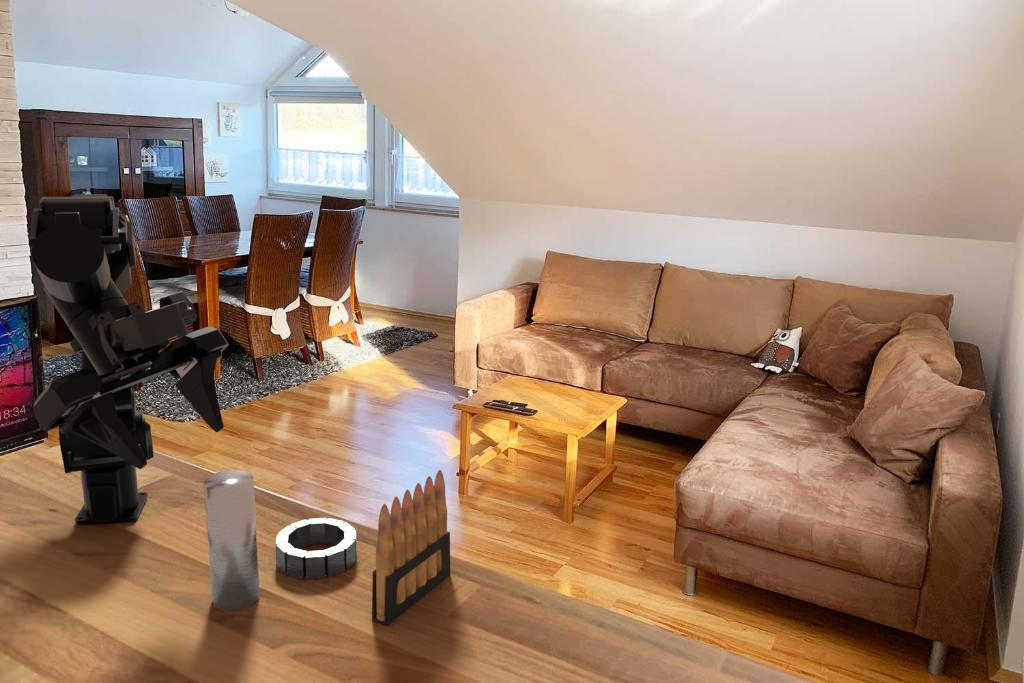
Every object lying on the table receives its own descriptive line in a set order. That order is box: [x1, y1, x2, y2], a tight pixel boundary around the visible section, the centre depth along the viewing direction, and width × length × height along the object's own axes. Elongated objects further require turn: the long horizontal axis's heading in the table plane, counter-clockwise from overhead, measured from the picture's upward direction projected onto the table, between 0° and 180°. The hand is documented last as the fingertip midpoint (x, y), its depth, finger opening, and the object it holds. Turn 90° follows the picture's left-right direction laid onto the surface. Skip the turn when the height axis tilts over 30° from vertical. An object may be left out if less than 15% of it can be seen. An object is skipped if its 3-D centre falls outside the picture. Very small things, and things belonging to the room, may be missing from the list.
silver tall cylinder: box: [203, 469, 261, 612], centre depth 82 cm, size 4×4×12 cm
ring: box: [275, 517, 357, 580], centre depth 91 cm, size 8×8×2 cm
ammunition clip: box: [371, 469, 451, 626], centre depth 83 cm, size 11×2×12 cm, turn 150°
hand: (183, 447), depth 83 cm, fingers open, 9 cm apart
